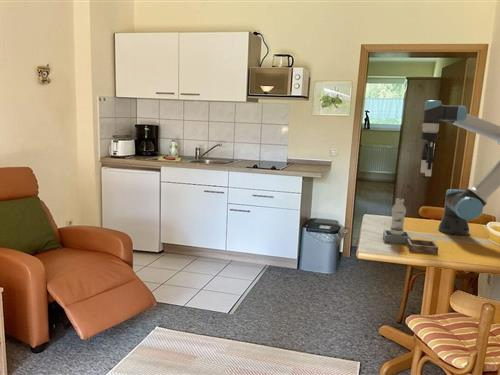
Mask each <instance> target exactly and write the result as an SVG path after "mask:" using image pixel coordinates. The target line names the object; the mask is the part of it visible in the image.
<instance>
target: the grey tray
mask: <svg viewBox="0 0 500 375" xmlns="http://www.w3.org/2000/svg"><path fill="white" fill-rule="evenodd" d="M389 232H390V229H389V230H388V229H383V234H382V237H383V242H384V243H387V244H389V243H391V244H401V245H406V242H407V239H412V237H411V235H410V234H409V232H408V231H404V236H394V235H389Z"/></svg>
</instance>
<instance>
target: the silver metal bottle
mask: <svg viewBox="0 0 500 375" xmlns="http://www.w3.org/2000/svg"><path fill="white" fill-rule="evenodd" d="M404 203H405V199H404V198H398V197H397V198H395V203H394V205H393V206H392V208H391V225H390V229H389V230H390V232H389V235H394V236H404V232H405V231H404V222H405V217H406V214H407V208H406V206H405V205H404Z"/></svg>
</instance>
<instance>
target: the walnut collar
mask: <svg viewBox="0 0 500 375" xmlns="http://www.w3.org/2000/svg"><path fill="white" fill-rule="evenodd" d="M405 245H406V247H407V249H408V251H409V252H414V253H424V254H434V255H435V254H436V255H438V253H439V246H438V245H437V244H436V242H435V241H434V240H429V239H426V240H425V239H415V238H411V239H407V242H406V244H405Z"/></svg>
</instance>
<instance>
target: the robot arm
mask: <svg viewBox="0 0 500 375" xmlns="http://www.w3.org/2000/svg"><path fill="white" fill-rule="evenodd" d="M440 121H441V122H445V123H448V124H451V125H454V126H457V127H459V128H462V129H464V130H467V131H469V132H471V133H472V132H473V133H475V134H477V135H480V136H483V137H485V138H487V139H490V140H493V141H495V142H497V144H498V145H500V125H498V124H495V123H493V122H491V121H487V120H485V119H482V118H480V117H477V116H476V115H475V116H474V115H472V114H469V113H468V109H467V107H466V105H453V104H452V105H450V104H448V105H445V104H442V101H441V100H432V99H431V100H430V99H429V100H426V101H425V103H424V109H423V121H422V125H421V129H422V130H421V131H422V133H421V139H420V140H423V146H422V152H421V157H420V158H421V163H420V173H421V174H424V177H432V172H433V170H432V169H433V163H434V162H435V159H434V157H435V156H434V155H435V154H434V152H435V142H433V141H438V140H439V139H438V138H439V133H438V132H439V130H440V129H439V128H440ZM499 188H500V160H498V162H496V163H495V164H494V165H493V166H492V168H490V170H488V171H487V173H485V175H484V176H483V177H481V179H480V180H479V181H477V182H476V184H475V185H474V186H472V187H467V188H466V189H465V190H464V189H454V188H452V189H447V190H446V193H445V201H444V207H443V208H444V209H443V215H442V219H441V221H440V223H439V225H438V231H439V232H442V233H445V234H448V235H449V234H450V235H456V236H465V235H466V236H467V235H469V234H470V227H469V221H472V220H473V221H474V220H476V219H478V218H479V217H480V216H481V215H482V214H483V210H484V207H485V206H486V205H487V204H488V199H489V197H491V195H493V194H494V192H496V191H497V190H498V189H499Z"/></svg>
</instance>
